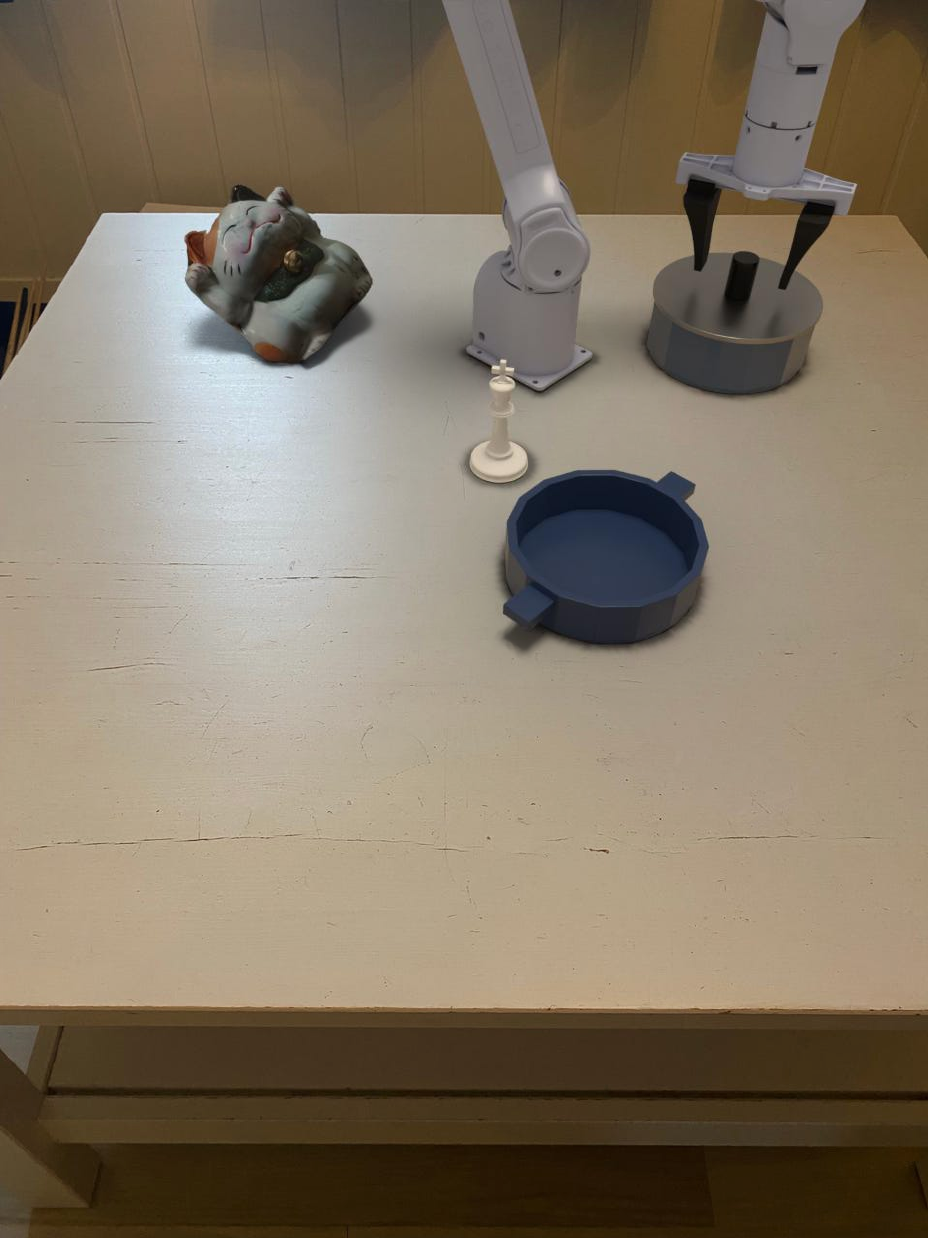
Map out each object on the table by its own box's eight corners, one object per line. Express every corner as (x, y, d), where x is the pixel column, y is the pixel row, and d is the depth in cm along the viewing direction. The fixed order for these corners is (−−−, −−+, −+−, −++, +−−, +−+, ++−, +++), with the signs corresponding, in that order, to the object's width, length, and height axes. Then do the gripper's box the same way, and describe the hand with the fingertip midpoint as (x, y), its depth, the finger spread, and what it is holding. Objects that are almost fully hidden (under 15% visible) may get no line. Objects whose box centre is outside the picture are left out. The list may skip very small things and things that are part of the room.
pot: (617, 350, 91) (624, 299, 87) (702, 293, 98) (713, 244, 94) (747, 413, 84) (761, 361, 80) (828, 348, 92) (846, 297, 88)
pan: (440, 591, 70) (440, 553, 67) (605, 467, 79) (611, 430, 76) (594, 700, 63) (600, 663, 60) (753, 551, 73) (766, 513, 70)
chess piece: (522, 486, 78) (530, 383, 70) (464, 478, 78) (465, 375, 71) (532, 449, 81) (539, 347, 73) (475, 442, 81) (477, 339, 74)
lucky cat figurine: (286, 383, 87) (189, 249, 78) (235, 373, 96) (143, 252, 88) (398, 283, 90) (316, 145, 82) (338, 282, 100) (259, 158, 91)
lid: (630, 326, 85) (637, 278, 82) (676, 250, 94) (685, 204, 91) (802, 366, 81) (817, 318, 78) (833, 283, 90) (848, 237, 87)
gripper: (678, 118, 75) (651, 278, 85) (865, 151, 71) (814, 314, 81) (701, 88, 79) (673, 243, 89) (879, 117, 75) (828, 276, 85)
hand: (741, 275), depth 86 cm, fingers open, 7 cm apart
